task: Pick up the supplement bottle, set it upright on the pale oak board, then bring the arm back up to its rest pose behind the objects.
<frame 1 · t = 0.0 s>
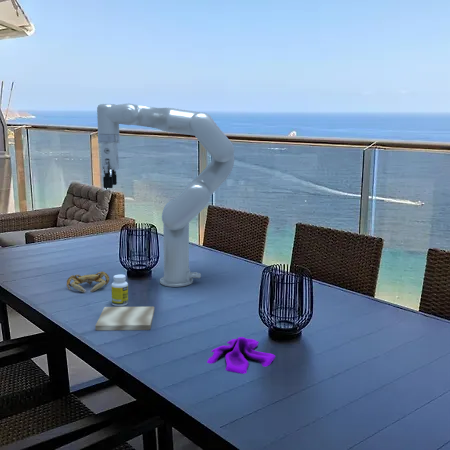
hand: (110, 186, 197), 37 cm above the table, tool pointing down, fingers open, 9 cm apart
cloth: (235, 359, 142), on the table
crab model: (88, 288, 198), on the table
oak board: (126, 320, 166), on the table
supplement bottle: (120, 304, 181), on the table
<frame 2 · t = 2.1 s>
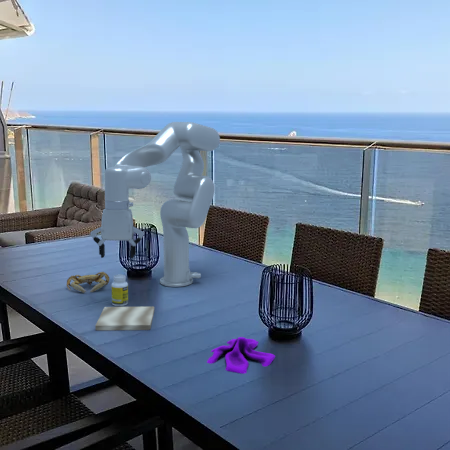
hand: (117, 257, 177), 16 cm above the table, tool pointing down, fingers open, 9 cm apart
nothing on the table moved.
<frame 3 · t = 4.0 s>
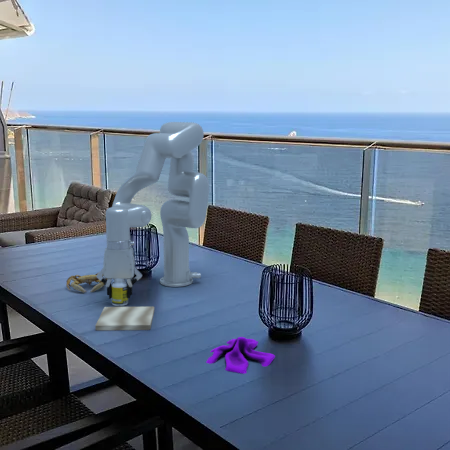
hand: (119, 296, 180), 3 cm above the table, tool pointing down, fingers closed on supplement bottle, 5 cm apart
supplement bottle: (120, 304, 181), on the table, touching gripper
everything else where it was.
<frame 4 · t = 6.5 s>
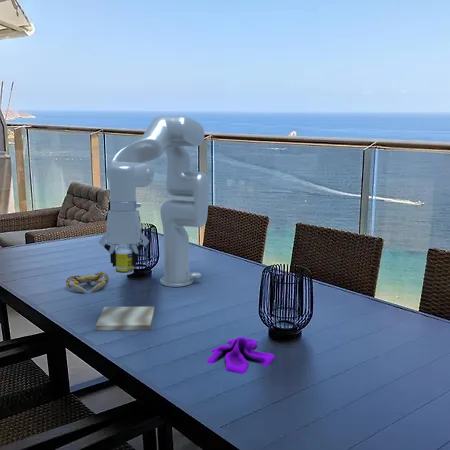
hand: (124, 264, 163), 18 cm above the table, tool pointing down, fingers closed on supplement bottle, 5 cm apart
supplement bottle: (124, 273, 164), point 15 cm above the table, touching gripper
everything else where it was.
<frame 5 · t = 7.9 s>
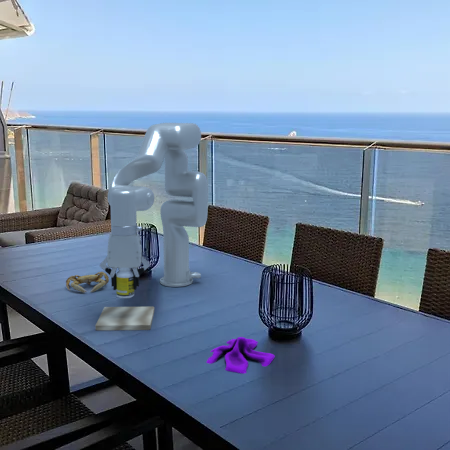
hand: (125, 288, 164), 10 cm above the table, tool pointing down, fingers closed on supplement bottle, 5 cm apart
supplement bottle: (125, 296, 165), point 8 cm above the table, touching gripper
everything else where it was.
when the fingers open (5 cm above the table, at t = 9.2 s): supplement bottle drops 1 cm, resting on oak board.
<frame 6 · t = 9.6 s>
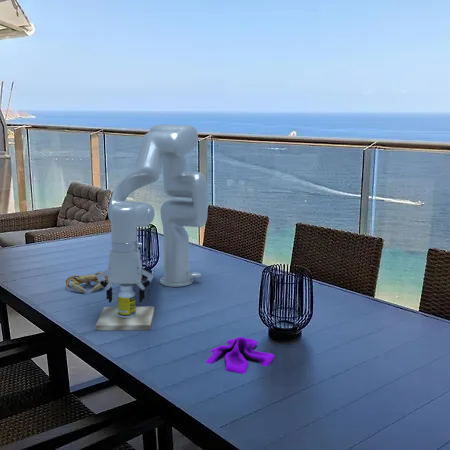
hand: (125, 301, 165), 6 cm above the table, tool pointing down, fingers open, 9 cm apart
supplement bottle: (127, 315, 166), point 1 cm above the table, touching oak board
everything else where it was.
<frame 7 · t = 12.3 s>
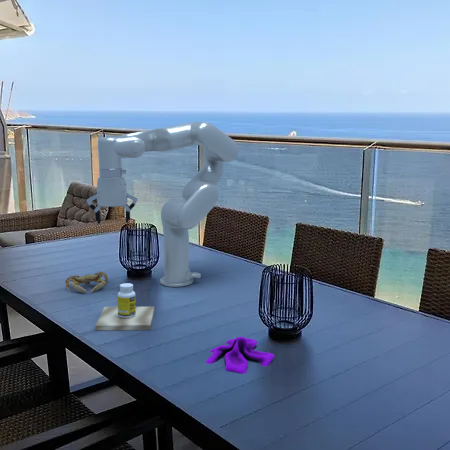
hand: (113, 222, 187), 26 cm above the table, tool pointing down, fingers open, 9 cm apart
nothing on the table moved.
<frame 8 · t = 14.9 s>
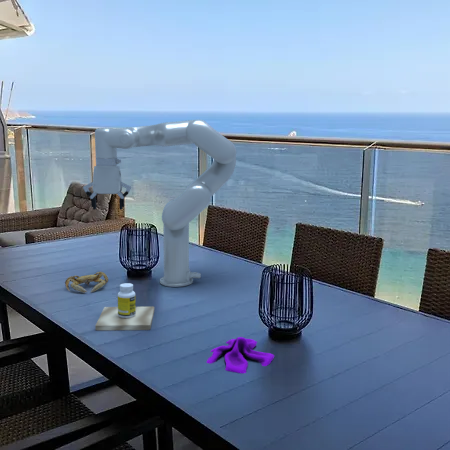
hand: (107, 209, 198), 28 cm above the table, tool pointing down, fingers open, 9 cm apart
nothing on the table moved.
at the end: supplement bottle inside the target area on the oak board (0.3 cm from its centre), point 1.3 cm above the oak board's base; supplement bottle tilted 0°; the gripper is holding nothing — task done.
